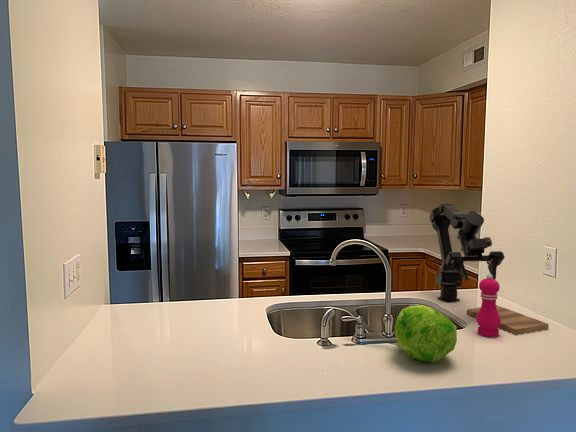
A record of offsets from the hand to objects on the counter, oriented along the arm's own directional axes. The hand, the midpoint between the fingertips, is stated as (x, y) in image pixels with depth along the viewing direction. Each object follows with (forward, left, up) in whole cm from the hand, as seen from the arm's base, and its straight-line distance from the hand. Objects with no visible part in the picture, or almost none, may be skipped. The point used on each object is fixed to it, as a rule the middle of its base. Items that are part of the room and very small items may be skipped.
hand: (481, 279), depth 143 cm
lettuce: (+13, -33, -16) cm, 39 cm away
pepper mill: (+7, -3, -16) cm, 18 cm away
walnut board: (0, +11, -17) cm, 20 cm away
